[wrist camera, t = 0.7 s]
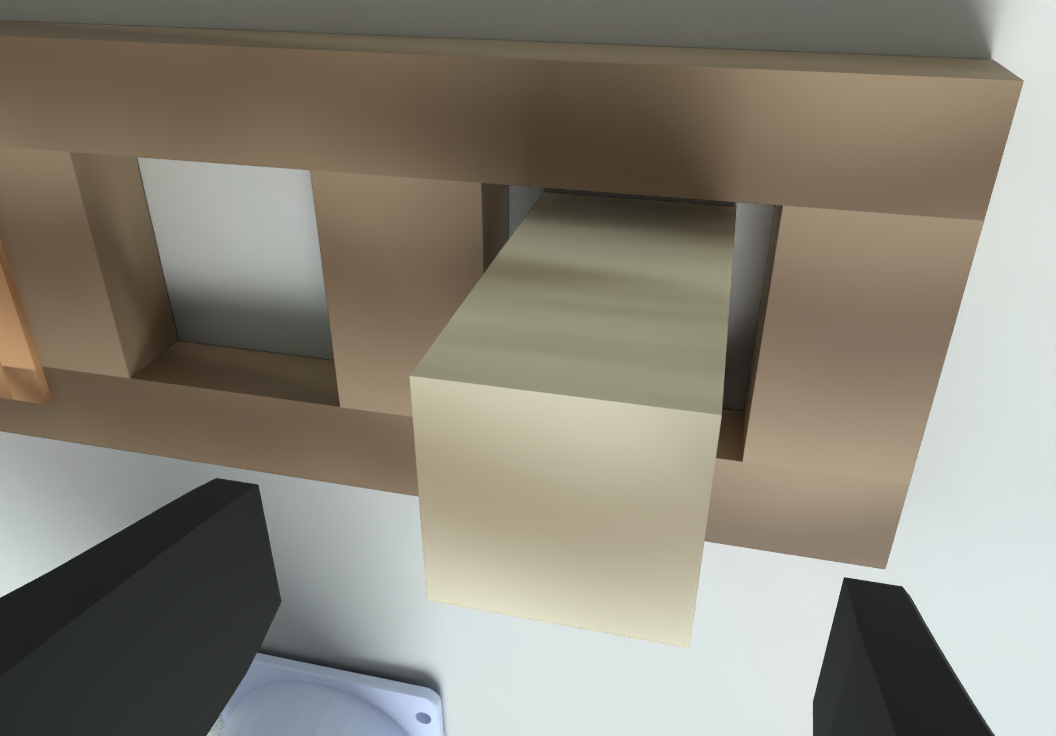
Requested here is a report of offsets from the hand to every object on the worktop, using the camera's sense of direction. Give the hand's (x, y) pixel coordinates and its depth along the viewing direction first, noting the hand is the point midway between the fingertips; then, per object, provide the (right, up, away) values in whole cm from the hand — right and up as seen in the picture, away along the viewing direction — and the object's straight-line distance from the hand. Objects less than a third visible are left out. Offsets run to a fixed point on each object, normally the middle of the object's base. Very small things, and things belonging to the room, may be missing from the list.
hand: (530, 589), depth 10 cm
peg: (+2, +4, +8) cm, 9 cm away
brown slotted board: (-7, +6, +10) cm, 13 cm away
